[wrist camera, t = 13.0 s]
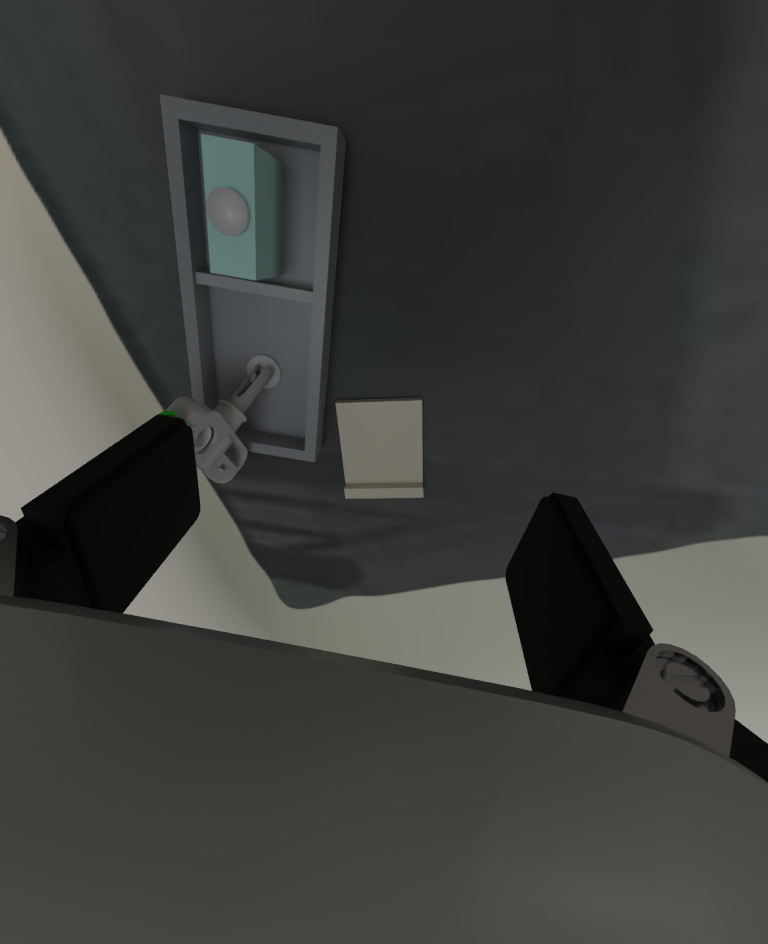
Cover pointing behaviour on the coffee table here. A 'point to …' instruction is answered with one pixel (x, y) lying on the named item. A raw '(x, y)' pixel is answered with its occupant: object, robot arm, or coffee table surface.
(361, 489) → the lid plate
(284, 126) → the housing
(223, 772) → the robot arm
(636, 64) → the coffee table surface
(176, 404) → the mechanical component
